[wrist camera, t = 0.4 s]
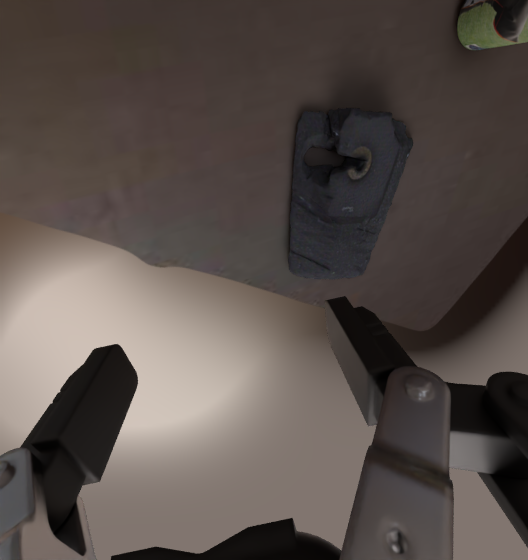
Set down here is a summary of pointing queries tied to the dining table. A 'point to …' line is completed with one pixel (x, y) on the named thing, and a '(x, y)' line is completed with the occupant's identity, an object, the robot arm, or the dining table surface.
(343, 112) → the grommeted fabric pouch
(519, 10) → the beverage can
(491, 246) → the dining table surface
